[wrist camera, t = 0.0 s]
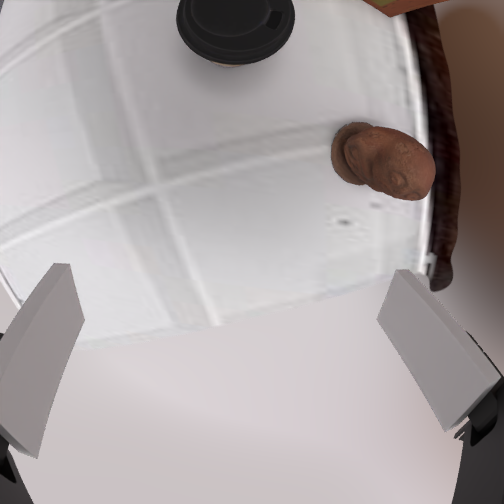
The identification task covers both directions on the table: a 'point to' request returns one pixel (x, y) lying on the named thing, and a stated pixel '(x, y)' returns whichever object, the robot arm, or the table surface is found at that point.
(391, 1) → the box
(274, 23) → the coffee cup
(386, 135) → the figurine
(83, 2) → the table surface
